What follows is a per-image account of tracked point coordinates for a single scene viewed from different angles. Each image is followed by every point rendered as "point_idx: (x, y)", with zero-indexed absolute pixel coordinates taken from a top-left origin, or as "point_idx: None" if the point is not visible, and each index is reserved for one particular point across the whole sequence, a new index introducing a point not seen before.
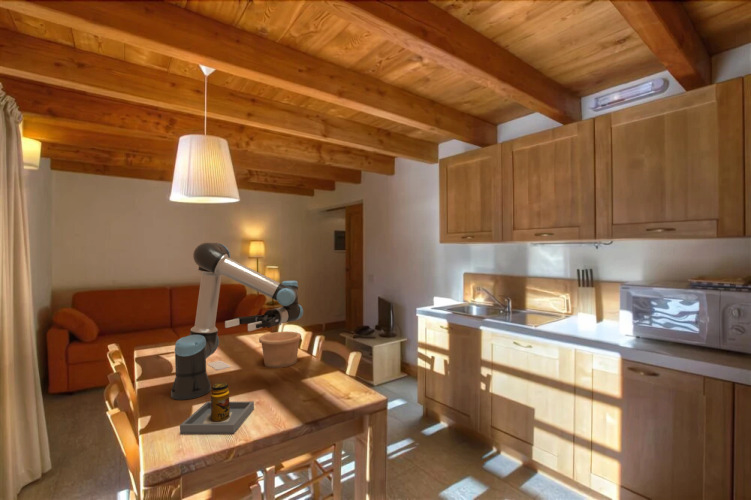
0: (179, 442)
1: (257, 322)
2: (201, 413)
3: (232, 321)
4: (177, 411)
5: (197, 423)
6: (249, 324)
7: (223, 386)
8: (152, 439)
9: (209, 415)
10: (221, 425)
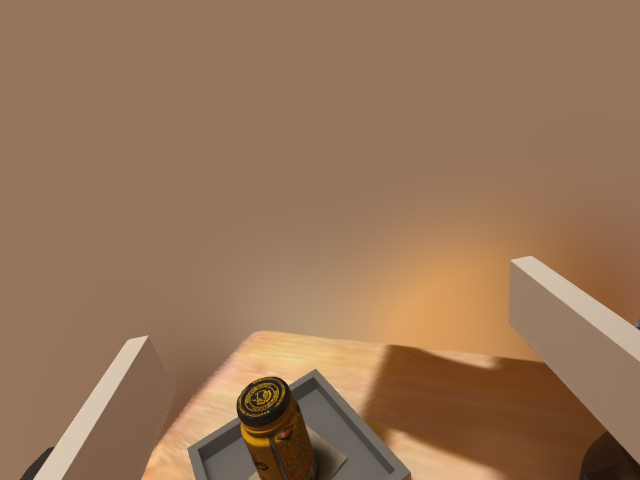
0: (288, 375)
1: (50, 457)
2: (364, 443)
3: (572, 328)
4: (470, 419)
5: (322, 418)
6: (126, 345)
7: (240, 398)
8: (347, 348)
9: (336, 458)
10: (220, 428)
